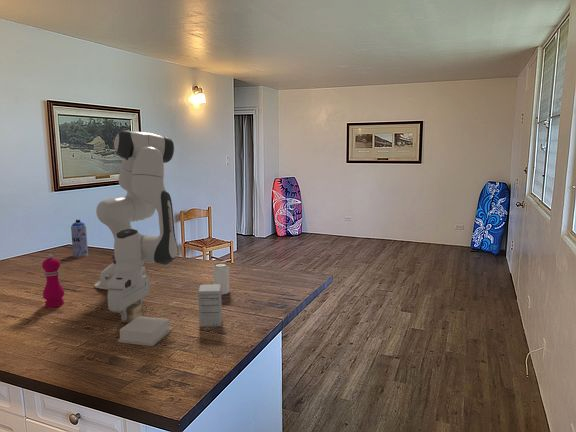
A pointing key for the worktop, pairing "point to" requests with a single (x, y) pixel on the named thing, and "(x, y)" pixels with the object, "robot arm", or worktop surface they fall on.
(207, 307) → the supplement box
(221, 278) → the can
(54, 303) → the pepper mill
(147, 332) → the pedestal
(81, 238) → the aerosol can
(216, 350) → the worktop surface
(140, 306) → the maple block
